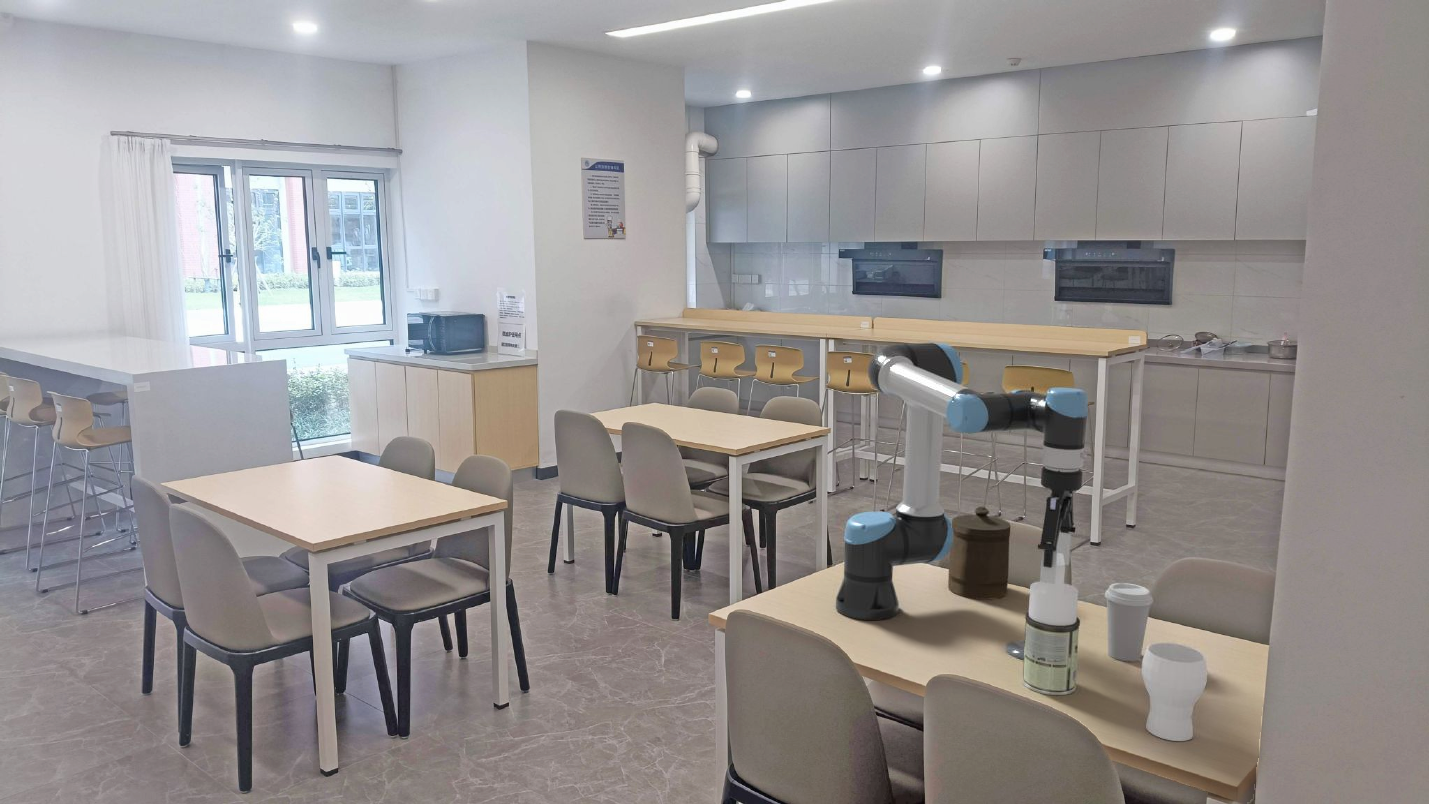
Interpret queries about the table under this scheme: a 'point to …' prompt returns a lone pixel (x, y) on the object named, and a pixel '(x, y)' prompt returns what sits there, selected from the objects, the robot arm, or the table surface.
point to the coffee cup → (1127, 620)
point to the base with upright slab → (1054, 599)
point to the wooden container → (979, 556)
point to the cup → (1173, 688)
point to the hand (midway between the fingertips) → (1054, 572)
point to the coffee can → (1050, 657)
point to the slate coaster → (1016, 649)
